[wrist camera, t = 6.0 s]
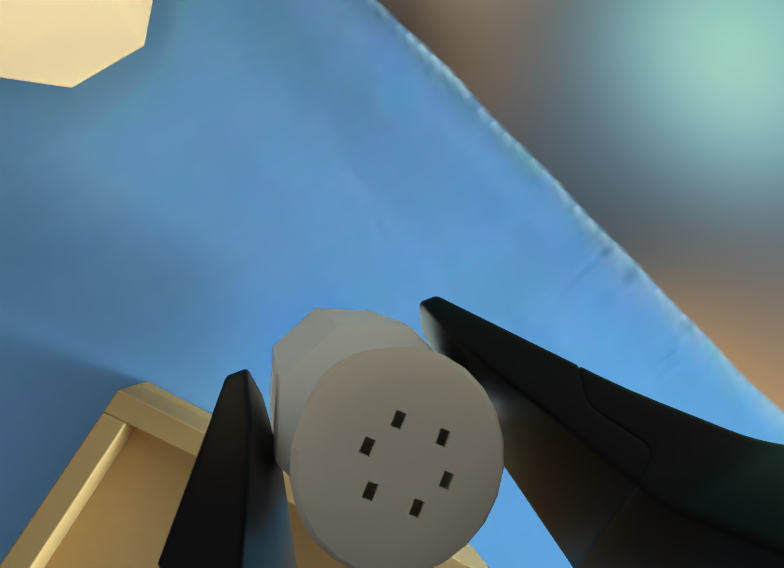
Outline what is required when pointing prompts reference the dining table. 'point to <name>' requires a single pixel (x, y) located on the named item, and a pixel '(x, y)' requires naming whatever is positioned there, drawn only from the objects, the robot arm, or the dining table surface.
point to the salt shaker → (382, 440)
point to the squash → (68, 37)
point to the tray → (139, 492)
